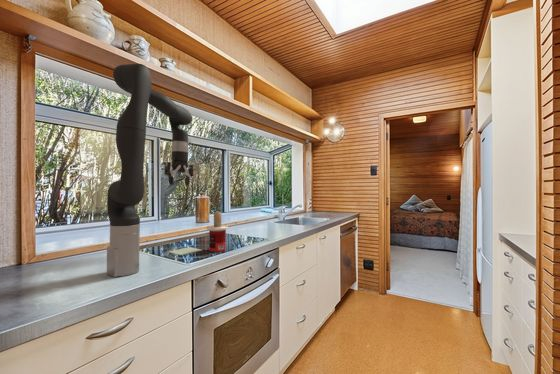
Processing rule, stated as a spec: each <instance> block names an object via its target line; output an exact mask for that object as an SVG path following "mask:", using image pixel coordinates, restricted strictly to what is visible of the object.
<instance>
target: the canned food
mask: <svg viewBox="0 0 560 374" xmlns="http://www.w3.org/2000/svg"><path fill="white" fill-rule="evenodd" d="M226 231H227V229H226V230H208V232H209V233H208V234H209V235H208V237H209V238H208V239H209V240H208V241H209V242H208V243H209V244H208V247H209V248H208V250H209V251H208V252H210V253H221V252H225V251H226V245H227V244H226V240H227V238H226V237H227V236H226V233H227V232H226Z"/></svg>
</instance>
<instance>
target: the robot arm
mask: <svg viewBox="0 0 560 374" xmlns="http://www.w3.org/2000/svg"><path fill="white" fill-rule="evenodd" d="M112 77H113V80H114V82H115V84H116V85H117V86H118V88H119V89H121V90H122V91H124V92H126V93H128V94H130V95H131V96H130V99H129V102H128V104H127V106H126V107H125V109H124V110H123V112H122V114H121V115H120V116H119V118H118V121H117V123H116V129H115V130H116V132H115V144H116V150H117V152H118V153H117V154H118V155H119V159H120V163H121V171H120V178H119V179H120V180H115V181H113V182H112V183H111V184H110V185H109V187H108V189H107V193H106V194H107V195H106V199H107V200H106V202H107V206H106V207H107V218H108V220H109V246H107V247H106V275H108V276H111V277H113V278H116V277H123V276H125V277H126V276H131V275H134V274H136V273H138V272H139V271H140V233H141V232H140V229H141V219H140V218H141V216H139V214H138V213H137V211H136V208H135V207H136V206H137V205H139V203H141V202H142V201H143V198H144V197H145V174H144V171H145V170H144V163H145V145H146V138H147V137H146V135H147V134H146V133H147V117H148V108H149V105H150V106H153V108H155V109H157V111H158V112H160V113H162V114H163V115H165V116H166V117H167V118H168V122H169V125H170V129H171V132H172V134H171V135H172V139H171V142H172V143H171V157H170V158H171V162H168V161H166V162H165V164H164V173H163V174H164V175H165V176H167V177H168V184H169V186H172V185H173V186H174V179H175V178H174V175H175V174H176V173H180V174H181V173H182V174H183V175H184V177H185V178H184V185H185V186H189V185H190V183H191V182H190V181H191V179H190V178H192V177H194V164H189V163H188V162H189V143H188V142H189V141H188V140H189V134H188V130H186V129H182V128H180V126H188V125H190V124H191V123H192V121H193V115H192V114H191V112H190V111H189V110H188V109H186V108H184V106H181V105H179V104H177V103H176V102H174V101H173V100H172V99H171V98H170V97H168V96H167V95H166V94H164V93H161V92H159V91H157V90H155V89H152V82H153V81H152V74H151V72H150V70H149V68H148V67H147V66H146V65H145V64H142V63H127V64H120V65H117V66H115V67H114V69H113V72H112Z"/></svg>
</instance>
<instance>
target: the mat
mask: <svg viewBox="0 0 560 374" xmlns="http://www.w3.org/2000/svg"><path fill="white" fill-rule="evenodd" d="M200 251H202V249H201V248H200V249H199V248H196V247H191V246H189V247H184V248H178V249H174V250H170V251H168V253H171V254H175V255H178V256H182V255H187V254H192V253H195V252H200Z"/></svg>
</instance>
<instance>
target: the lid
mask: <svg viewBox="0 0 560 374" xmlns="http://www.w3.org/2000/svg"><path fill="white" fill-rule="evenodd" d="M228 229H229V226H228V225H225V224H223V225H222V211H214V212H213V224H212V225H208V226H206V230H208V231H209V230H226V231H227V230H228Z"/></svg>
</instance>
